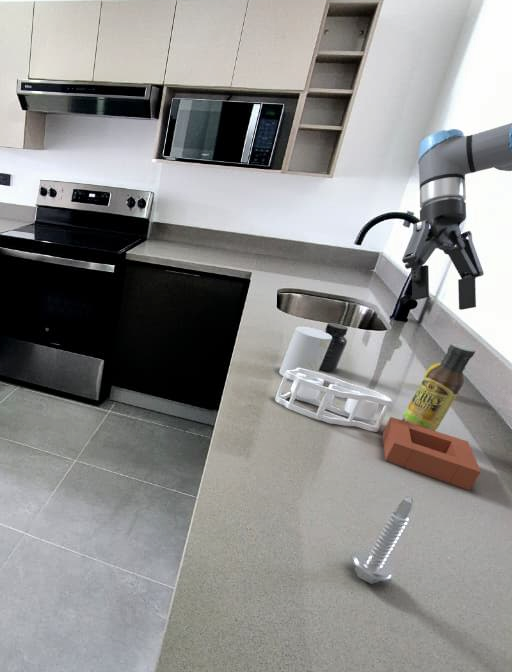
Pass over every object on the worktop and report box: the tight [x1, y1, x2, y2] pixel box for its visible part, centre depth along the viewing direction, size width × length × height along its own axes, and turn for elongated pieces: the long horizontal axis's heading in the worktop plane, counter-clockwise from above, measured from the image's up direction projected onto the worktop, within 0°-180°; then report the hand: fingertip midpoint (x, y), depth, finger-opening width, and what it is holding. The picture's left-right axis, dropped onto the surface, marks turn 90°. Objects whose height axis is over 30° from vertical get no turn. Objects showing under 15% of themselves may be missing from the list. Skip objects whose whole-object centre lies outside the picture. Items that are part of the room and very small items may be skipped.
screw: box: [350, 496, 415, 585], centre depth 63 cm, size 13×5×5 cm
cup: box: [279, 326, 332, 382], centre depth 124 cm, size 8×8×12 cm
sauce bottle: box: [401, 342, 476, 431], centre depth 103 cm, size 6×6×20 cm
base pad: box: [382, 416, 482, 491], centre depth 95 cm, size 13×13×4 cm
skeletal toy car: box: [274, 368, 394, 433], centre depth 108 cm, size 20×11×7 cm, turn 53°
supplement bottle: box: [319, 322, 349, 373], centre depth 134 cm, size 7×7×12 cm
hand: (444, 303), depth 103 cm, fingers open, 13 cm apart
